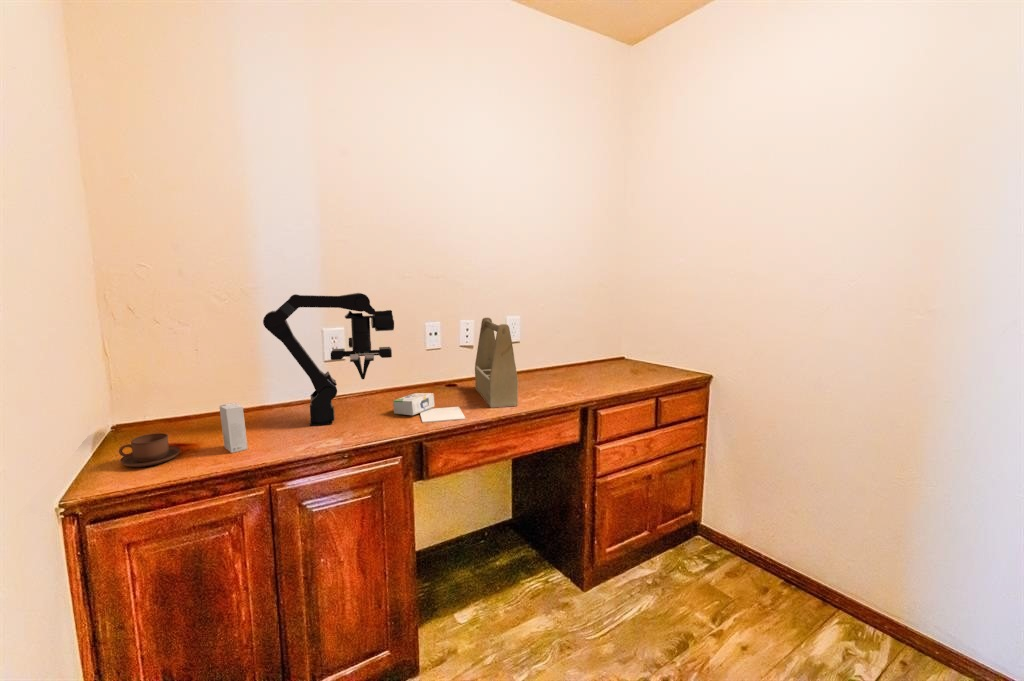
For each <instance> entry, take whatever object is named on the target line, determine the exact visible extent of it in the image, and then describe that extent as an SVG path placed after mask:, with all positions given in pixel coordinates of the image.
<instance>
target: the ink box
mask: <svg viewBox="0 0 1024 681" xmlns="http://www.w3.org/2000/svg"><path fill="white" fill-rule="evenodd" d="M392 402H393V403H392V404H393V414H394V415H402V416H403V415H404V416H406V415H407V416H415V415H417V414H420V412H422V411H425V410H427V409H433V408H434V407H435V405H436V404H435V395H434V393H433V392H432V393H431V392H427V393H426V392H425V393H424V392H421V393H419V392H415V393H411V394H409V395H405V396H403V397H400V398H397V399H394V400H392Z"/></svg>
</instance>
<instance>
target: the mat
mask: <svg viewBox="0 0 1024 681" xmlns="http://www.w3.org/2000/svg"><path fill="white" fill-rule="evenodd" d="M419 415H420V419H421V422H422V424H427V423H438V422H449V421H450V422H451V421H463V420H464V421H465V420H466V419H467V418H466V416H465V415H464V413H463V411H462V410H461V408H460V406H451V407H449V406H448V407H447V406H446V407H435V408H434V407H433V408H430V409H427V410H425V411H422V412H420V413H419Z"/></svg>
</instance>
